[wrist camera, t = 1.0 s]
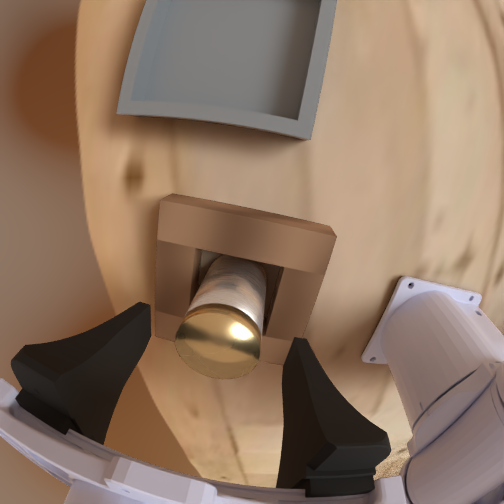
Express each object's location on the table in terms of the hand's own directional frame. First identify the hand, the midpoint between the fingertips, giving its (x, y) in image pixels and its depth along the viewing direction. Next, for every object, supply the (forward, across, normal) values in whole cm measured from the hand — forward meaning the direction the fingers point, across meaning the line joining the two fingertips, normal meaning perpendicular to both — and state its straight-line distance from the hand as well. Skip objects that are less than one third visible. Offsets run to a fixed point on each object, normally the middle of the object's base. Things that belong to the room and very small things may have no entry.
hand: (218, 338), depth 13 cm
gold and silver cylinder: (+6, 0, 0) cm, 6 cm away
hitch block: (+6, 0, 0) cm, 6 cm away
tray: (+6, +3, -15) cm, 16 cm away
